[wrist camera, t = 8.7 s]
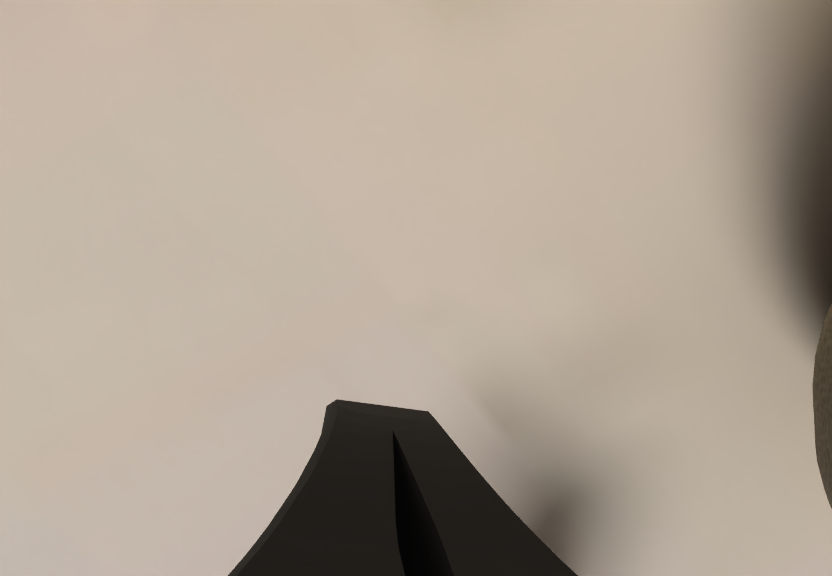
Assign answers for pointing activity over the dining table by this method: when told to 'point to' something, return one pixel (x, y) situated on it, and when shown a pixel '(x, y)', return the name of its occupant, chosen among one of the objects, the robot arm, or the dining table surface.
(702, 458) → the dining table surface
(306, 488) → the robot arm
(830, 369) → the cantaloupe
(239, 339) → the dining table surface
